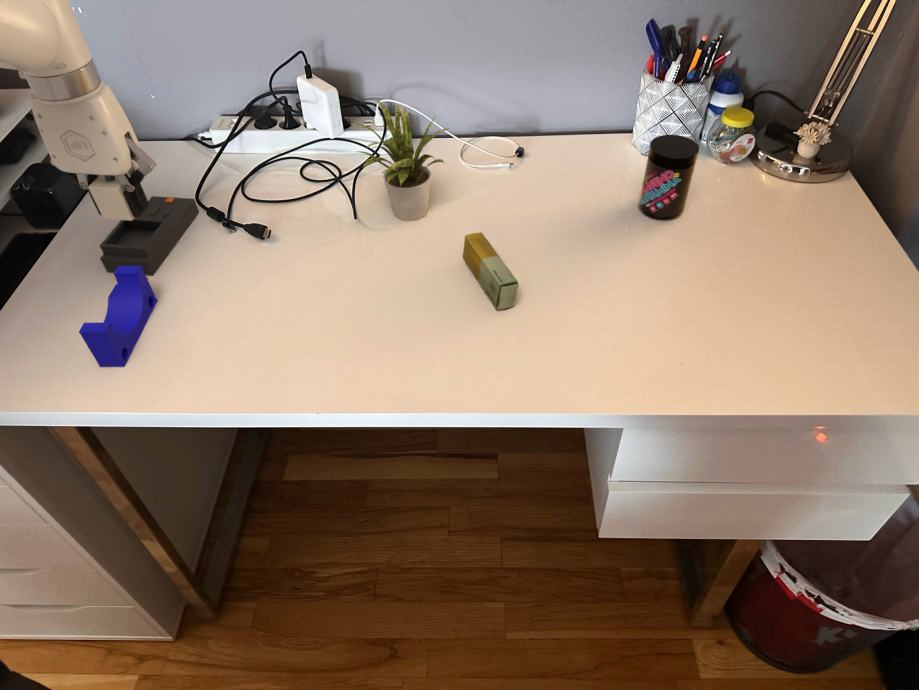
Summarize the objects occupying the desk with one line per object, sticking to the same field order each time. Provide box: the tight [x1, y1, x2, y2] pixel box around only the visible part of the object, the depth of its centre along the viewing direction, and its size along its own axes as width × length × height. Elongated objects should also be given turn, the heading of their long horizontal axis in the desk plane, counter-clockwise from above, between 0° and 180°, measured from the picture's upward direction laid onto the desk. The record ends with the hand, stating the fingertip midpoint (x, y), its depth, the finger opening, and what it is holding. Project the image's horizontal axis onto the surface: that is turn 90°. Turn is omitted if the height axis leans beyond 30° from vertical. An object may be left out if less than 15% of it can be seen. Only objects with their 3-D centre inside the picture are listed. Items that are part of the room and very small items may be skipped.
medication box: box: [462, 232, 520, 311], centre depth 89 cm, size 12×3×4 cm, turn 23°
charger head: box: [88, 172, 135, 221], centre depth 90 cm, size 4×4×6 cm
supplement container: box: [638, 134, 700, 221], centre depth 98 cm, size 7×7×10 cm
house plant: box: [351, 98, 449, 222], centre depth 98 cm, size 14×14×16 cm
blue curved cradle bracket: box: [78, 266, 158, 368], centre depth 84 cm, size 12×4×6 cm, turn 179°
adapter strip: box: [99, 195, 200, 276], centre depth 98 cm, size 7×16×4 cm, turn 172°
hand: (124, 209), depth 92 cm, fingers closed on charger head, 4 cm apart
